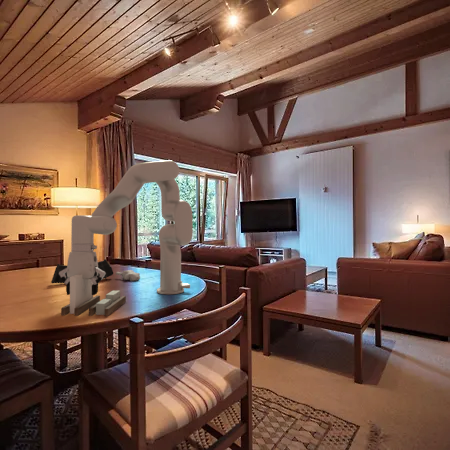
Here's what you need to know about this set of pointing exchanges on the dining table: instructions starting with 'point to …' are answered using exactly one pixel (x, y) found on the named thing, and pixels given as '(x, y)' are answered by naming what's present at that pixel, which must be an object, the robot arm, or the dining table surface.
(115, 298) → the large offcut
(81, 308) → the rack
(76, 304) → the tall sheet
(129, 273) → the bunny figurine
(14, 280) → the dining table surface
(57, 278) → the magazine
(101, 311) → the small offcut
